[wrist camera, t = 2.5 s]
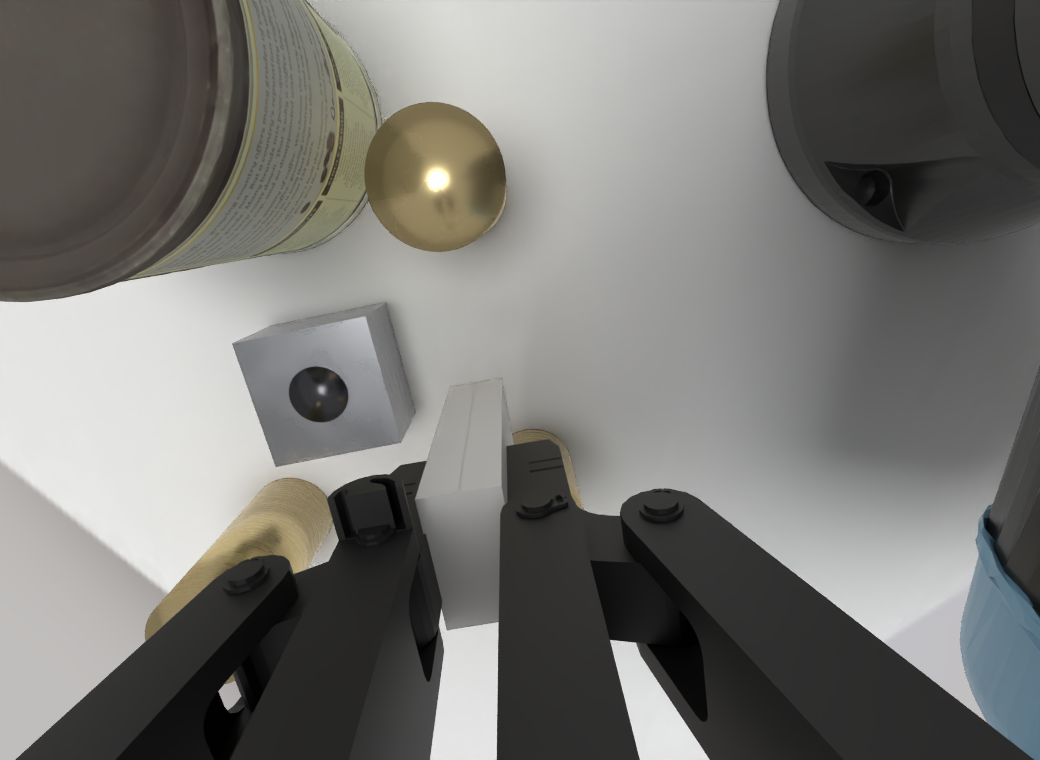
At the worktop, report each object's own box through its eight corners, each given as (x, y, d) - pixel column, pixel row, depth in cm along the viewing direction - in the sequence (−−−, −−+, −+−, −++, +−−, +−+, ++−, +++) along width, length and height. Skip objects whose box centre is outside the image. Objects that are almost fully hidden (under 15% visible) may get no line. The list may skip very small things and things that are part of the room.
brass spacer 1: (321, 472, 28) (239, 585, 19) (341, 540, 29) (272, 677, 21) (244, 485, 28) (128, 603, 20) (267, 552, 29) (167, 693, 21)
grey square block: (386, 301, 26) (365, 316, 22) (416, 411, 27) (400, 443, 24) (272, 324, 26) (231, 343, 22) (308, 432, 28) (275, 467, 24)
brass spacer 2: (497, 135, 24) (492, 89, 15) (513, 231, 25) (516, 239, 16) (406, 152, 24) (348, 116, 15) (425, 246, 25) (382, 262, 16)
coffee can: (196, 280, 25) (-162, 352, 12) (96, 28, 22) (-530, -261, 9) (416, 226, 25) (305, 237, 11) (342, -38, 22) (77, -448, 8)
